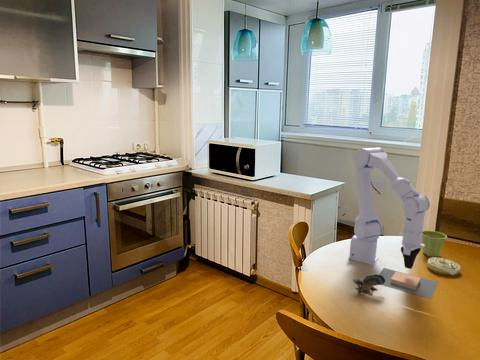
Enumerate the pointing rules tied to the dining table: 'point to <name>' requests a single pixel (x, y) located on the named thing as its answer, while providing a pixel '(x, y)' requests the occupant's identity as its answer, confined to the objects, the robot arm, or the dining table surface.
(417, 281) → the tile
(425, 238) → the plant pot
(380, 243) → the dining table surface
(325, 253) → the dining table surface
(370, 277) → the eagle figurine
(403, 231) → the robot arm
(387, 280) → the mat
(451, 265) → the decorated donut
